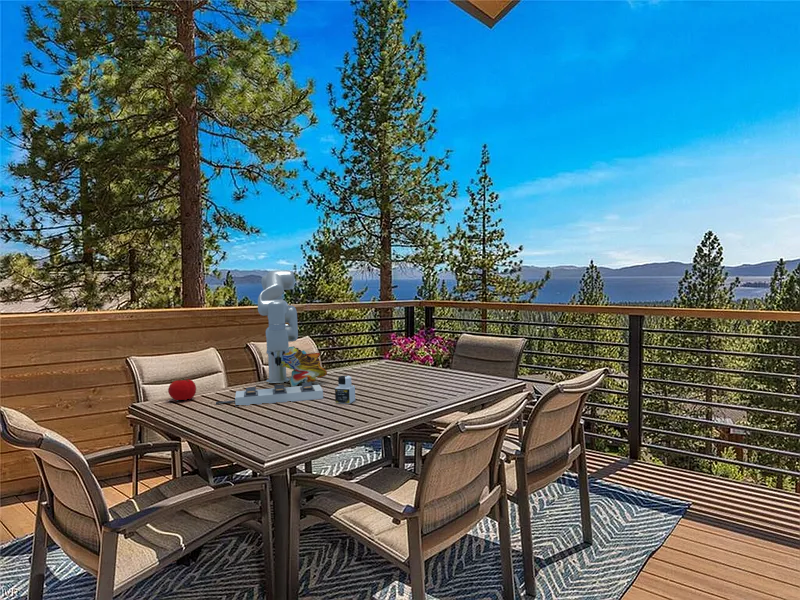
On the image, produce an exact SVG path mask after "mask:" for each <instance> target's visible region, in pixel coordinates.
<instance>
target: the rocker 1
mask: <svg viewBox="0 0 800 600" xmlns="http://www.w3.org/2000/svg"><path fill="white" fill-rule="evenodd" d="M256 390H257V386H250V387H249V386H247V387H246V388H245V391H246V395H255V394H256Z"/></svg>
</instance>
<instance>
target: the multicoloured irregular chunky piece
mask: <svg viewBox="0 0 800 600" xmlns="http://www.w3.org/2000/svg"><path fill="white" fill-rule="evenodd" d="M319 357H321V353H320V352H313V353H307V352H306V351H305V350H304V349H303V350H301V349H299V347H296V346H289V352H288V353H285V354H284V355H283V356H282V357H281V362H282V364H283V366H282V367H286V369H290V370H292V371H291V377H289V383H290V387H296V386H298V384H302V383H310V382H311V384H312V385H313V384H314V383H315V382H316V379H317V378H319V379H320V378H323V377H325V376H327V373H328V371H327V370H326V369H325V368H324V367H322V366H321V364H322V363H321V361H320V360H321V359H320V358H319Z"/></svg>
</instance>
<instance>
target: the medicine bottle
mask: <svg viewBox="0 0 800 600" xmlns="http://www.w3.org/2000/svg"><path fill="white" fill-rule="evenodd" d="M337 381H338V382H337V383H338V385H337V386H336V387H335V388H334V397H335V398H334V399H335V400H334V401H335V402H334V403H335V404H343V405H344V404H345V405H347V404H348V405H349V404H350V405H351V404H352V403H353V402H355V401H356V386H355V385H352V376H350V375H340V376H339V377H338V379H337Z"/></svg>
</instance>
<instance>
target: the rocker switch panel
mask: <svg viewBox="0 0 800 600" xmlns="http://www.w3.org/2000/svg"><path fill="white" fill-rule="evenodd" d="M312 388H313V390H304V391H303V388H302V385H299V386H298V385H296V386H295V387H292V386H287V387H285V386H284V389H285V392H279V393H275V389H274V387H273V388H272V387H271V388H262V389H260V388H259V389H256V394H255V395H246V390H236V391H235V397H234V400H223V401H216V402H215V403H216V404H218V403H229V404H232V403H231V402H235V403H234V404H235V405H246V406H251V405H250V404H257V405H263V404H262V403H269V404H277V403H276V402H280V403H288V402H287V401H291V402H301V401H302V402H303V401H314V400H323V399H324V389H323V388H322V386H321V385H320V384H312ZM216 404H215V405H216ZM218 405H219V404H218Z"/></svg>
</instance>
